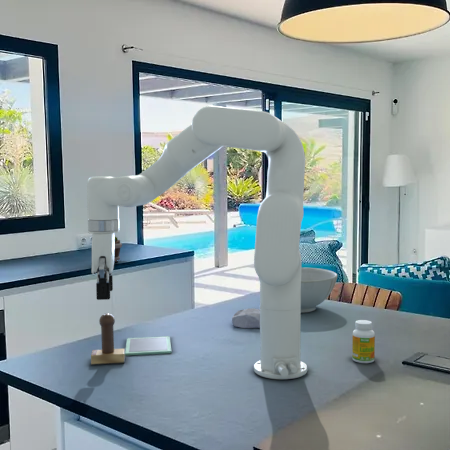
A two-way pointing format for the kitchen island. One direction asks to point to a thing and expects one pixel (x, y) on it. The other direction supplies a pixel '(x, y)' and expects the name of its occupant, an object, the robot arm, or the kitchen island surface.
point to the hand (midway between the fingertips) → (104, 295)
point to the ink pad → (148, 345)
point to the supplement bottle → (363, 342)
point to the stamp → (107, 344)
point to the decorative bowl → (315, 287)
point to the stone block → (247, 318)
